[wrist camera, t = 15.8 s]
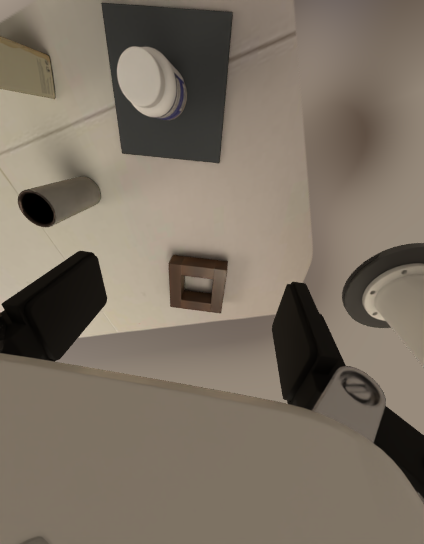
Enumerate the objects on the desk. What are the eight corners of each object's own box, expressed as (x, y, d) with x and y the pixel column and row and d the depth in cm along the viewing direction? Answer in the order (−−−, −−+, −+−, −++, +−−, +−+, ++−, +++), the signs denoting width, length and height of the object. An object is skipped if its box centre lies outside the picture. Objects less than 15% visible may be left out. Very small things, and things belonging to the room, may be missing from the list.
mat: (232, 14, 22) (232, 11, 22) (219, 162, 30) (219, 163, 29) (104, 5, 23) (101, 2, 22) (123, 153, 30) (121, 153, 30)
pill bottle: (136, 90, 26) (96, 71, 18) (166, 51, 24) (134, 13, 16) (166, 130, 28) (141, 128, 20) (196, 98, 26) (180, 83, 18)
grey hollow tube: (78, 169, 32) (20, 181, 24) (105, 189, 33) (59, 207, 25) (69, 193, 34) (14, 212, 26) (95, 210, 36) (50, 234, 27)
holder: (227, 261, 38) (227, 270, 36) (221, 302, 44) (220, 313, 41) (173, 254, 39) (168, 263, 36) (174, 296, 44) (170, 306, 42)
